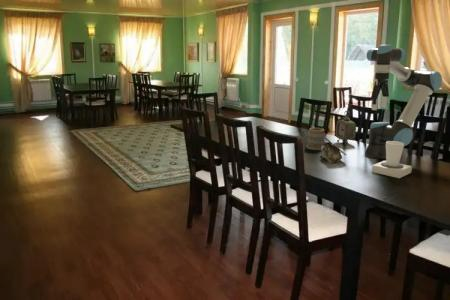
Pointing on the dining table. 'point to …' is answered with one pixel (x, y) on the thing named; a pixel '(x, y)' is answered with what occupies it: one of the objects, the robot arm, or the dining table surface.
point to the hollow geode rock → (331, 152)
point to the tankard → (315, 138)
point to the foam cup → (393, 152)
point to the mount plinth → (391, 169)
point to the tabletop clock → (345, 129)
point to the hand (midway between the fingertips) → (379, 108)
